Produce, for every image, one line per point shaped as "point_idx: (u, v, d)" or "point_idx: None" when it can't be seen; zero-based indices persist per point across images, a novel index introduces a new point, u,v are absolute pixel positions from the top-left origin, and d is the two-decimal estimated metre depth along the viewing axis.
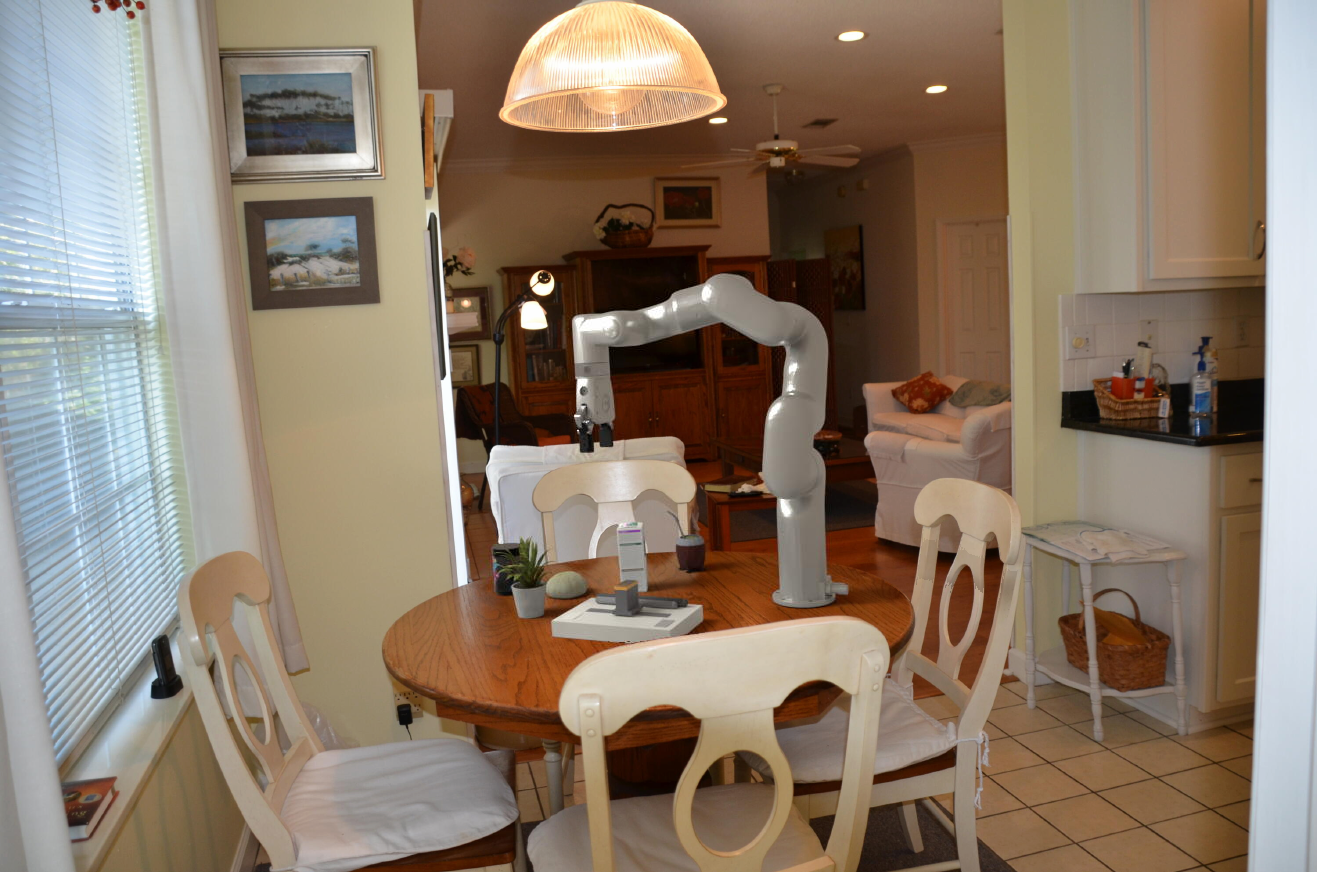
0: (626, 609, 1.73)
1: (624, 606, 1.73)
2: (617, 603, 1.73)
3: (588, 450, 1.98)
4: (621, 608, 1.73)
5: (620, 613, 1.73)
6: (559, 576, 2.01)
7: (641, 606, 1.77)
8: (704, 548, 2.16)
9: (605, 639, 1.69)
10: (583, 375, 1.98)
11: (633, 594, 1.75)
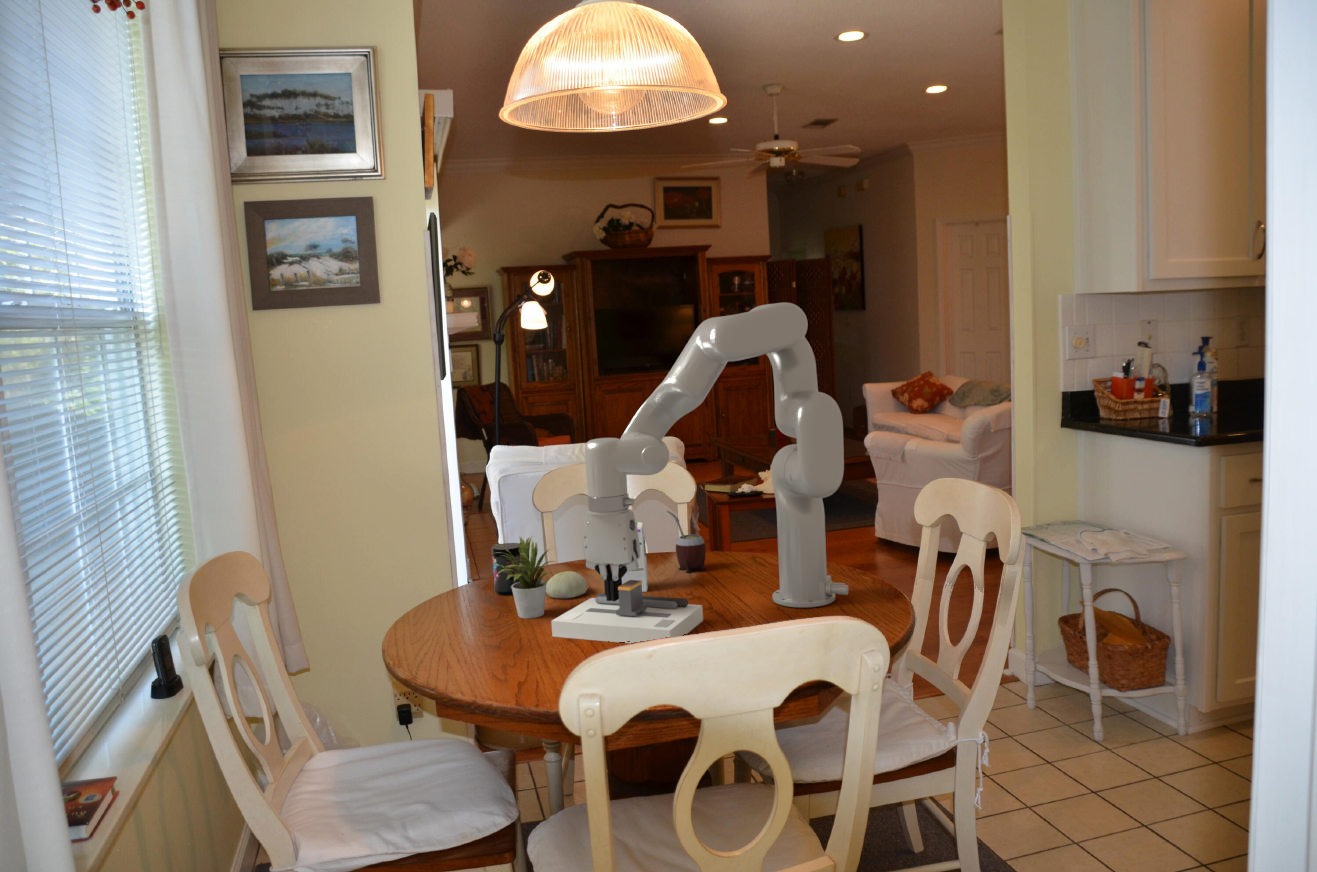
0: (630, 609, 1.73)
1: (627, 606, 1.73)
2: (621, 603, 1.73)
3: (618, 596, 1.77)
4: (625, 609, 1.73)
5: (624, 613, 1.73)
6: (559, 576, 2.01)
7: (645, 606, 1.76)
8: (704, 548, 2.16)
9: (605, 639, 1.69)
10: (625, 508, 1.73)
11: (637, 594, 1.75)
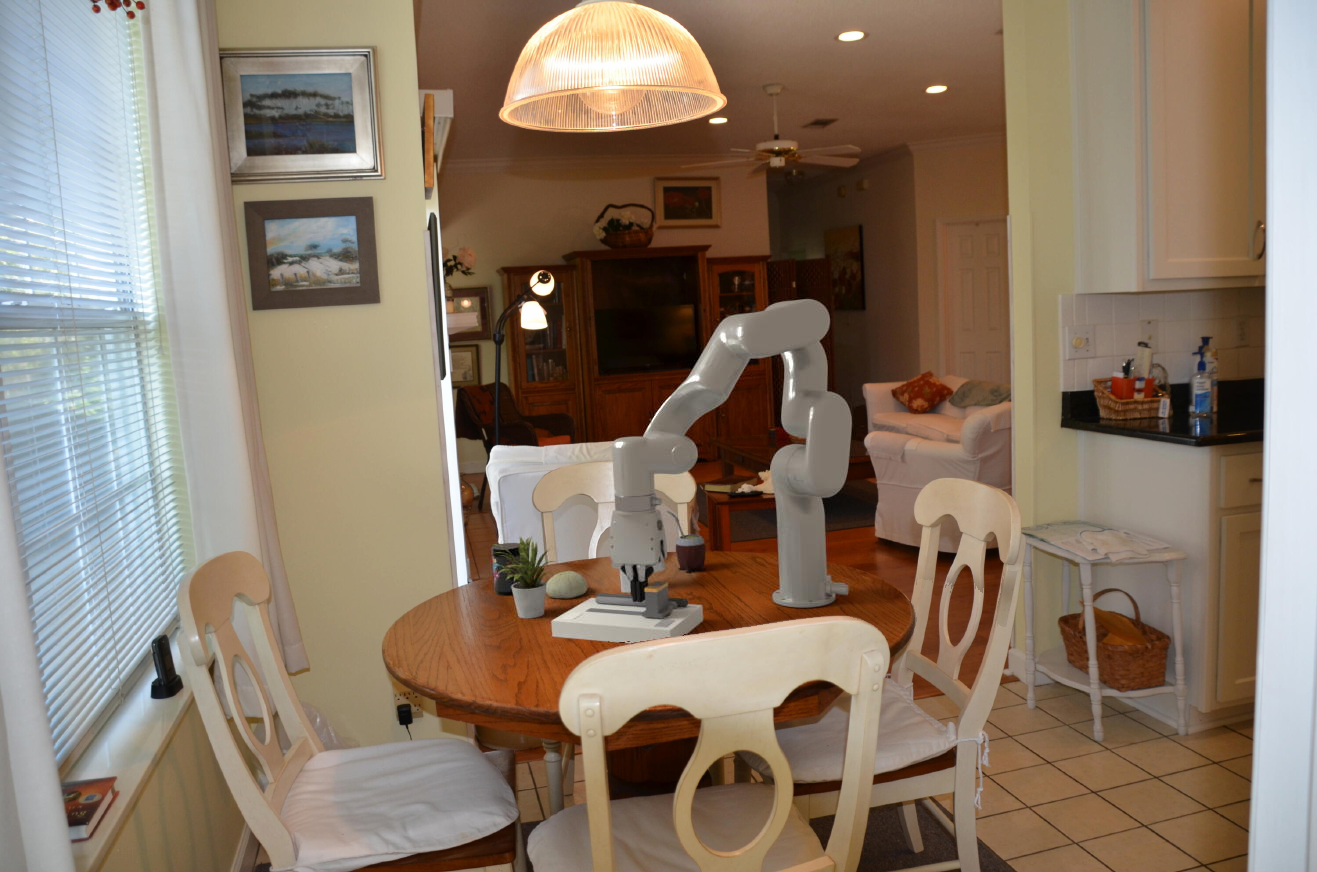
0: (657, 611, 1.70)
1: (654, 608, 1.70)
2: (647, 605, 1.71)
3: (644, 597, 1.74)
4: (652, 610, 1.71)
5: (650, 615, 1.71)
6: (559, 576, 2.01)
7: (671, 608, 1.74)
8: (704, 548, 2.16)
9: (605, 639, 1.69)
10: (652, 507, 1.71)
11: (663, 596, 1.73)
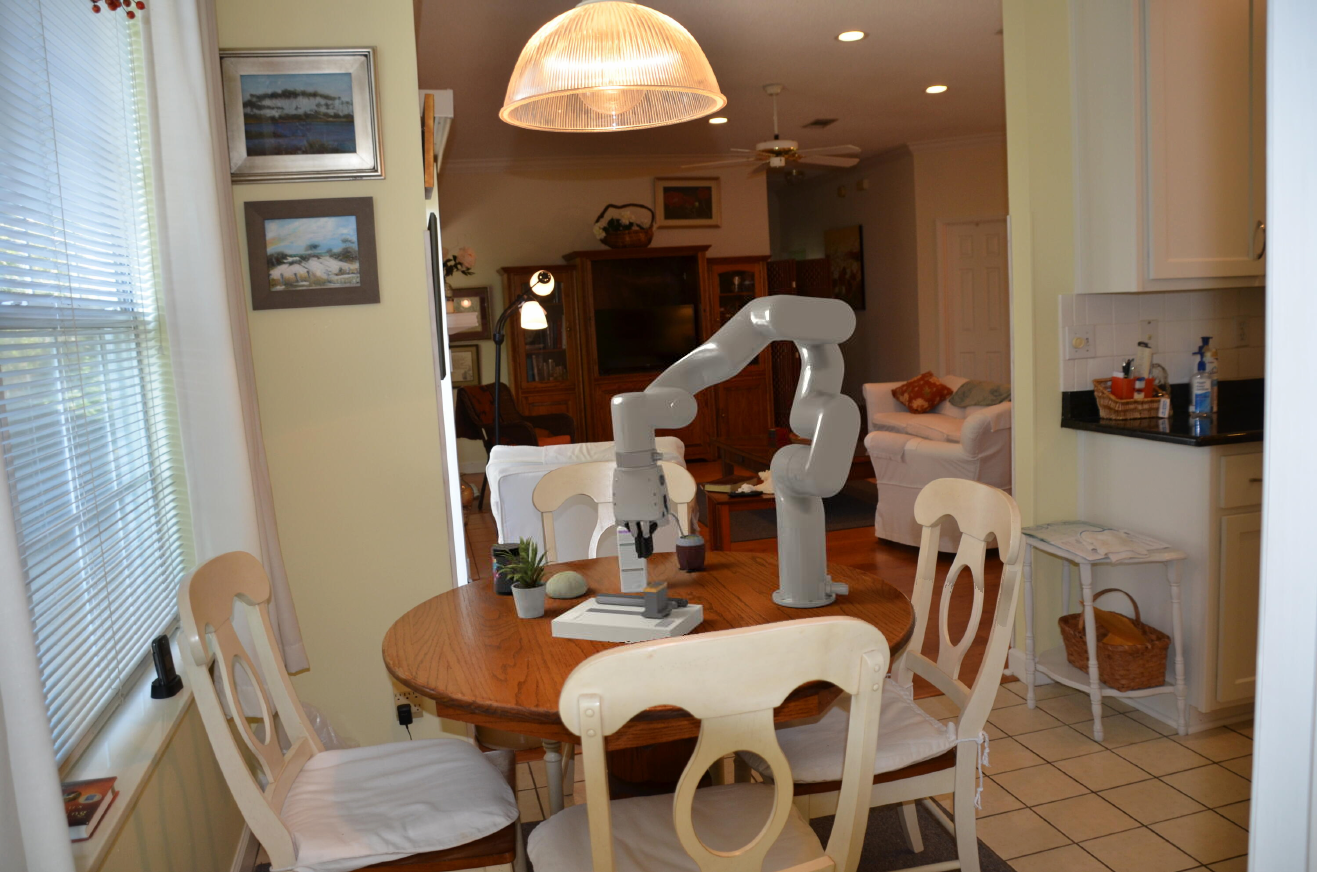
0: (656, 611, 1.70)
1: (653, 608, 1.71)
2: (646, 605, 1.71)
3: (649, 553, 1.74)
4: (651, 610, 1.71)
5: (649, 615, 1.71)
6: (559, 576, 2.01)
7: (670, 608, 1.74)
8: (704, 548, 2.16)
9: (605, 639, 1.69)
10: (654, 463, 1.70)
11: (663, 596, 1.73)
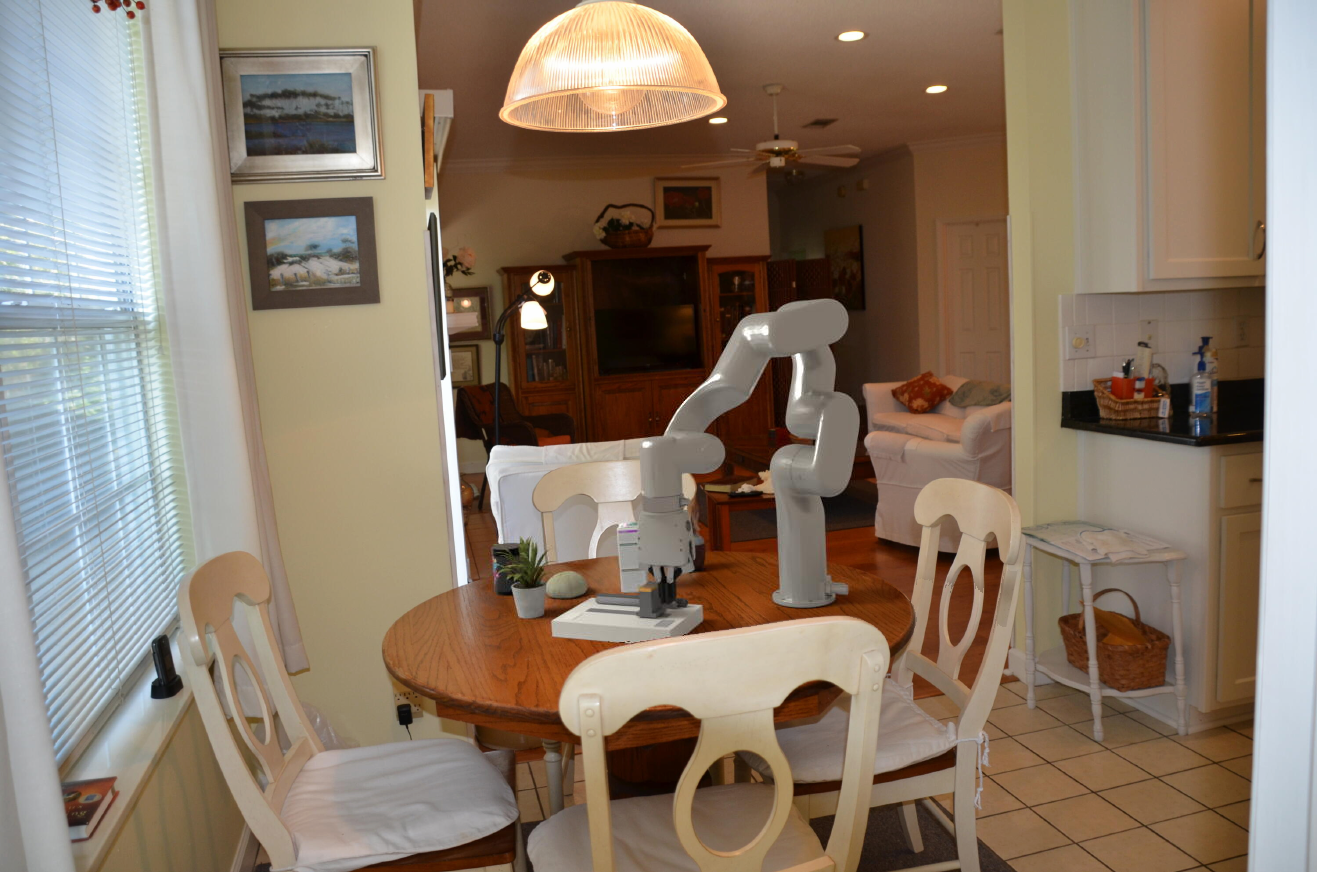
0: (650, 611, 1.71)
1: (648, 607, 1.71)
2: (641, 605, 1.71)
3: (672, 598, 1.72)
4: (646, 610, 1.71)
5: (644, 615, 1.71)
6: (559, 576, 2.01)
7: (665, 608, 1.75)
8: (704, 548, 2.16)
9: (605, 639, 1.69)
10: (681, 508, 1.68)
11: (657, 595, 1.73)
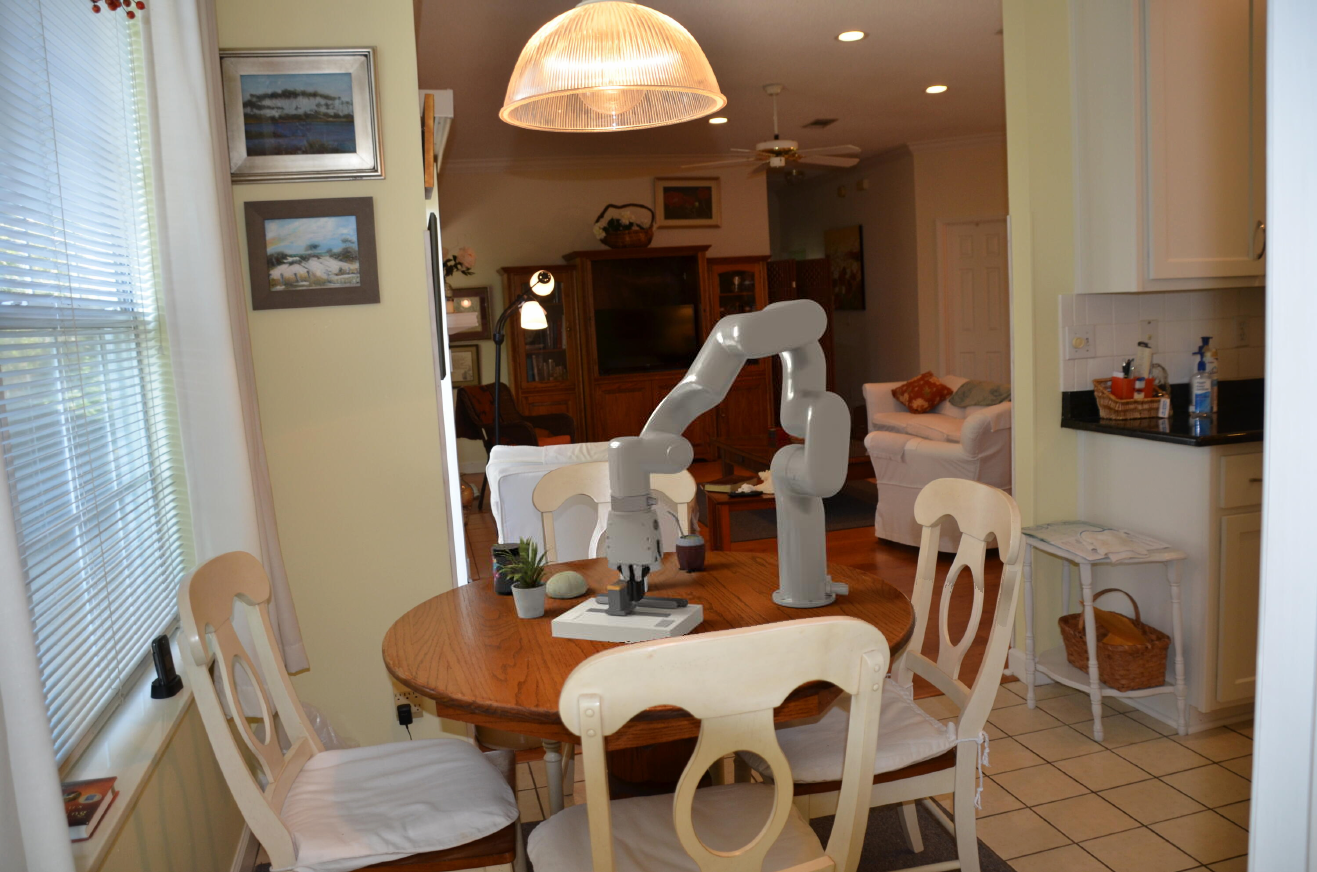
0: (619, 608, 1.73)
1: (616, 605, 1.74)
2: (610, 603, 1.74)
3: (641, 596, 1.75)
4: (614, 608, 1.74)
5: (613, 612, 1.74)
6: (559, 576, 2.01)
7: (634, 606, 1.77)
8: (704, 548, 2.16)
9: (605, 639, 1.69)
10: (648, 507, 1.71)
11: (626, 593, 1.76)
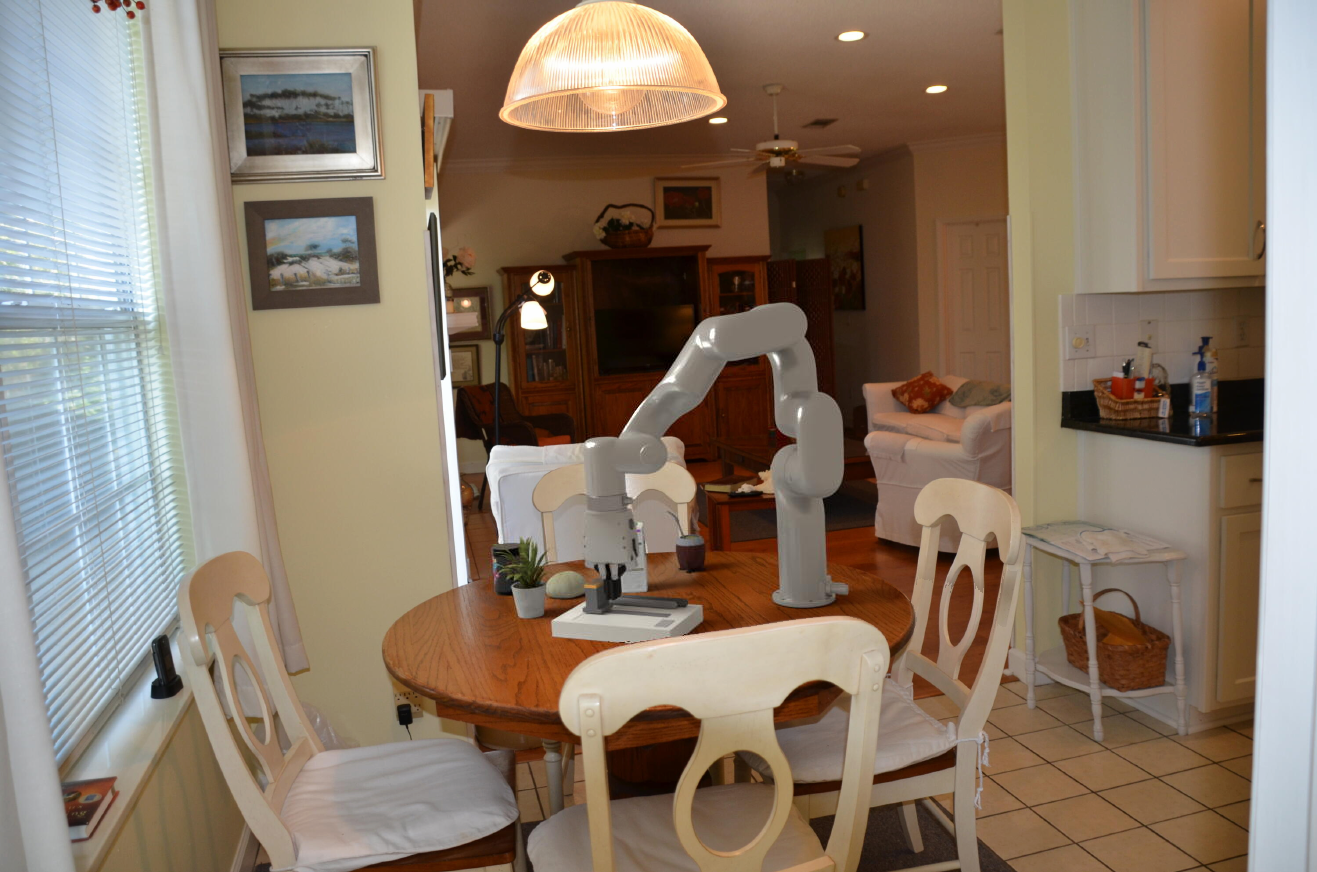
0: (596, 607, 1.75)
1: (593, 603, 1.75)
2: (587, 601, 1.76)
3: (618, 595, 1.77)
4: (591, 606, 1.76)
5: (590, 611, 1.76)
6: (559, 576, 2.01)
7: (611, 604, 1.79)
8: (704, 548, 2.16)
9: (605, 639, 1.69)
10: (624, 507, 1.73)
11: (603, 592, 1.78)
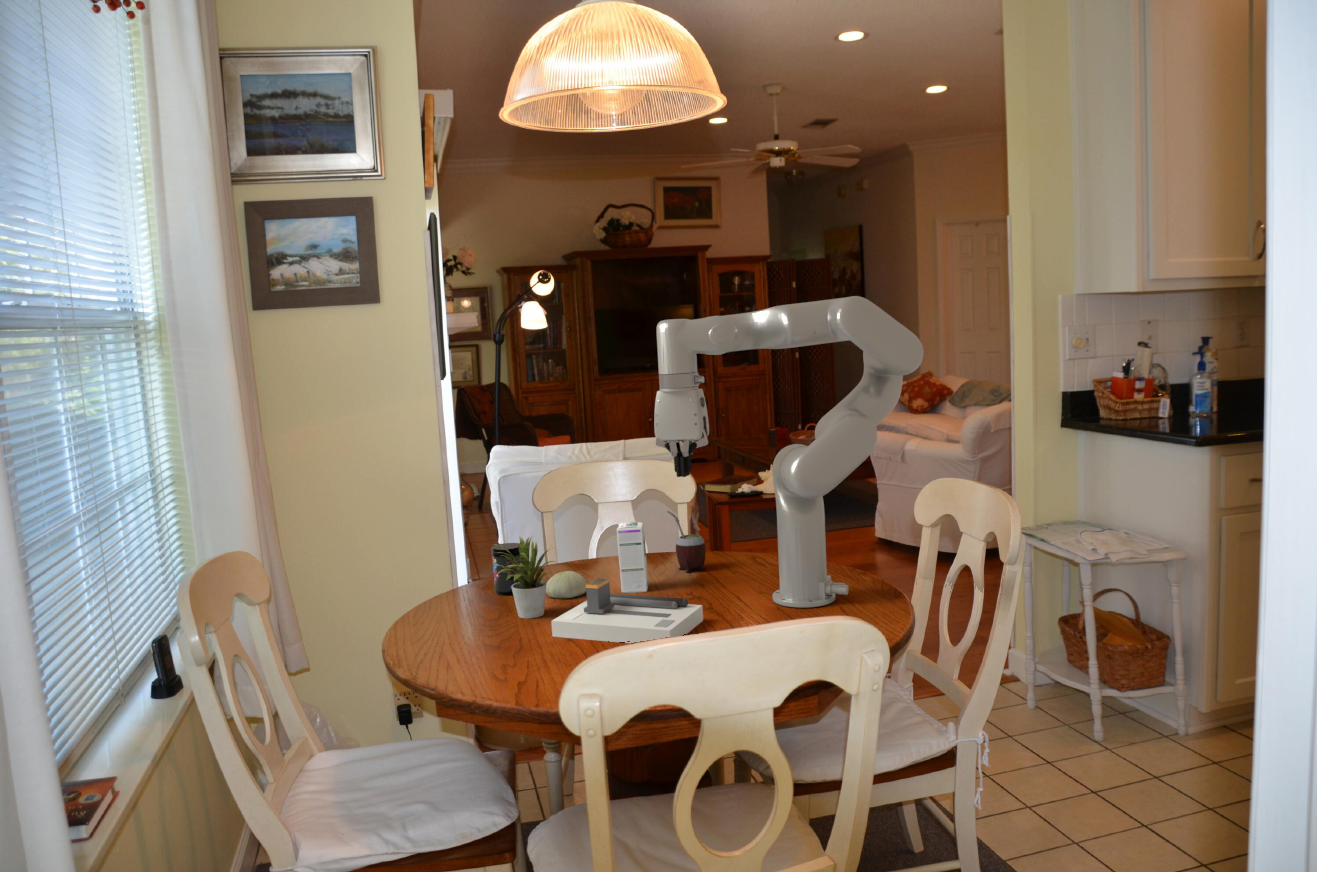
0: (597, 607, 1.75)
1: (595, 604, 1.75)
2: (588, 601, 1.76)
3: (687, 473, 1.83)
4: (593, 606, 1.76)
5: (591, 611, 1.76)
6: (559, 576, 2.01)
7: (613, 604, 1.79)
8: (704, 548, 2.16)
9: (605, 639, 1.69)
10: (695, 385, 1.80)
11: (605, 592, 1.78)
